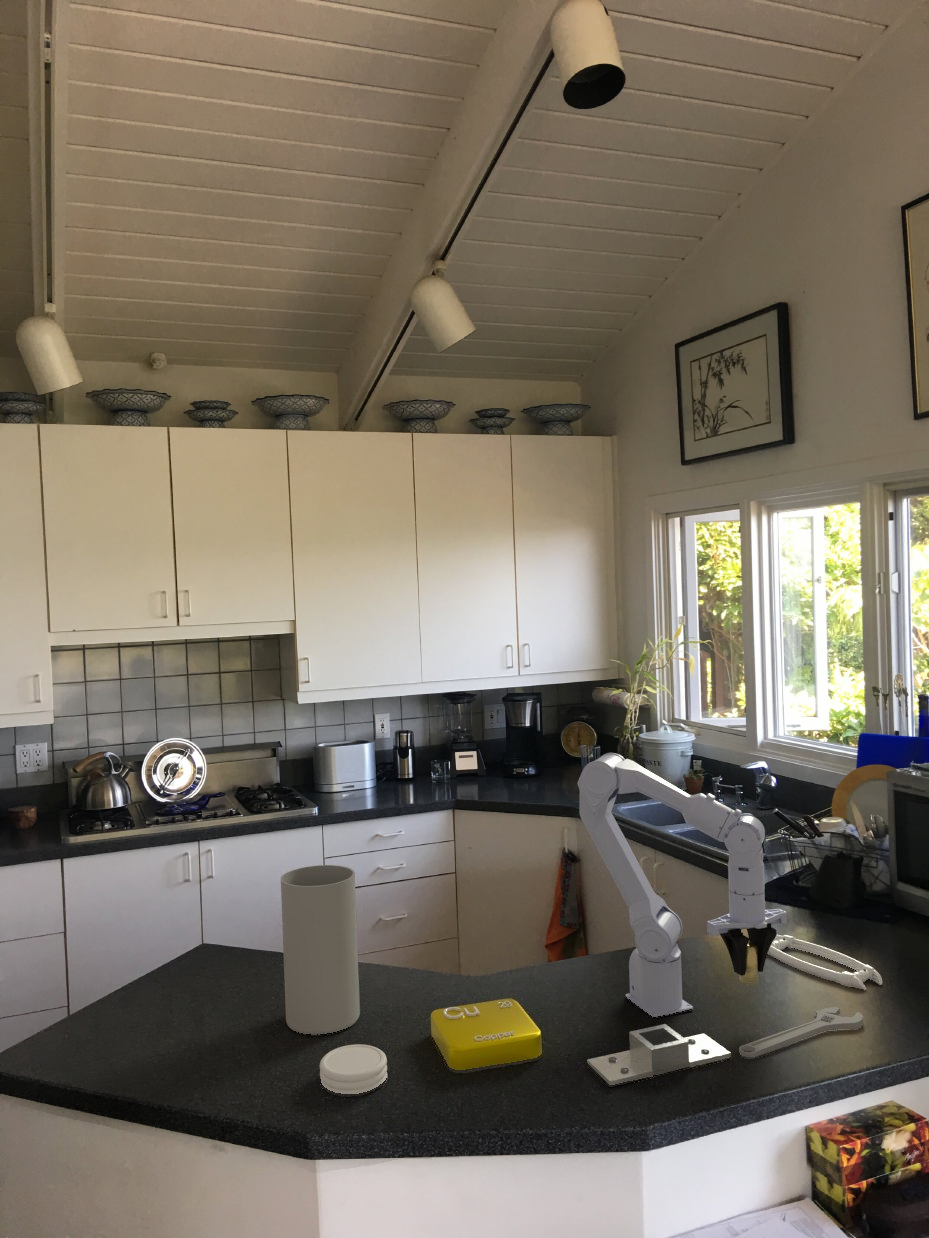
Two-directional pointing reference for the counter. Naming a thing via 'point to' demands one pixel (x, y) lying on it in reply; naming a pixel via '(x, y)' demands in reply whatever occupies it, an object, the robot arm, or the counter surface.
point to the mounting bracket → (657, 1055)
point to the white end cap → (353, 1069)
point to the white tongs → (842, 978)
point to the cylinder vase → (320, 949)
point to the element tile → (485, 1034)
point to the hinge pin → (751, 965)
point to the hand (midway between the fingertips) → (748, 971)
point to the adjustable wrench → (803, 1031)
